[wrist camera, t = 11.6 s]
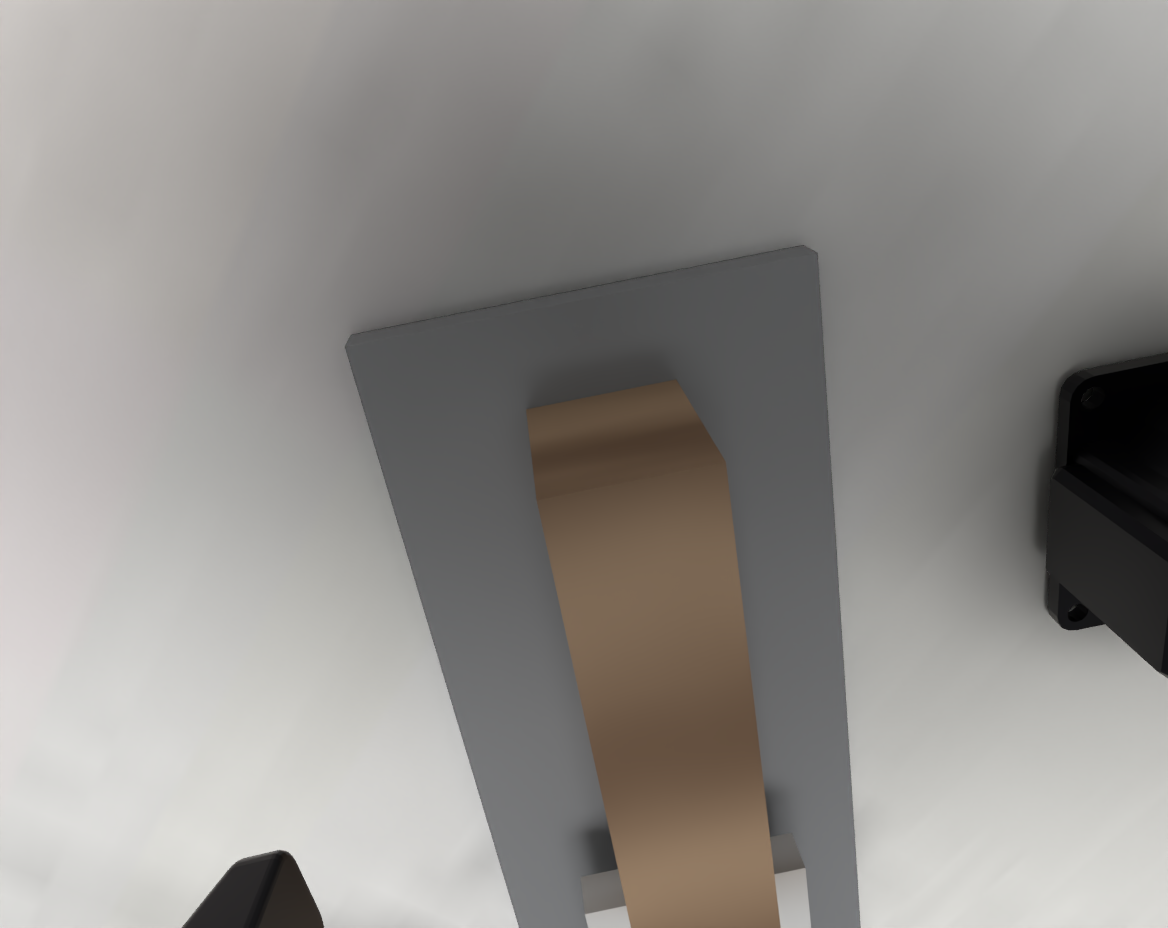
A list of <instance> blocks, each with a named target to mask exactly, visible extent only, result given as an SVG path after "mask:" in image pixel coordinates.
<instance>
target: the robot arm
mask: <svg viewBox="0 0 1168 928" xmlns="http://www.w3.org/2000/svg"><path fill="white" fill-rule="evenodd" d="M1092 387H1093V392H1092V395H1091V396H1090V397H1089V399H1088V400H1086V401H1084V402H1081V400H1082V397H1083V394H1084V393H1085V392H1086V391H1087V390H1088V389H1090V388H1092ZM1046 570H1047V571H1048V573H1049V574H1050V575H1049V594H1048V612H1049V615H1050V616H1051V617H1052V618H1053V619H1054V620H1055V621H1056V622H1057V623H1058V624H1059V625H1060V626H1061V627H1062V628H1064V629H1067V630H1079V629H1084V628H1089V627H1093V626H1098V625H1103V624H1106V625H1107V626H1108V627H1109V628H1110V629H1111V630H1112V631H1113V632H1115V633H1116V634H1117V635H1118V636H1119V637H1120V638H1121V639H1122V640H1123V641H1124V642H1126V643H1127V644H1128V645H1129V646H1130V647H1131V648H1132V649H1133V650H1134V651H1136V652H1137V653H1138V654H1139V655H1140V656H1141V657H1142V658H1143V659H1144V660H1145V661H1147V662H1148V663H1149V664H1150V665H1151V666H1152V667H1153V668H1154V669H1155V670H1156V671H1158V672H1159V673H1161V674H1162V675H1164V676H1165V677H1167V678H1168V353H1165V354H1160V355H1155V356H1150V357H1145V358H1140V359H1135V360H1130V361H1125V362H1120V363H1115V364H1110V365H1105V366H1100V367H1095V368H1090V369H1085V370H1082V371H1079V372H1077V373H1074V374H1073V375H1072V376H1070V377H1069V378H1068V379H1067V380H1066V381H1065V383H1064V384H1063V386H1062V387H1061V391H1060V395H1059V408H1058V427H1057V445H1056V464H1055V471H1054V473H1053V475H1052V477H1051V480H1050V496H1049V515H1048V535H1047V554H1046ZM1074 605H1077V606H1076V607H1075V608H1074V609H1073V610H1072V611H1069V610H1070V609H1071V608H1072V607H1073V606H1074ZM1068 611H1069V612H1068ZM182 928H324V925H323V921H322V917H321V914H320V912H319V910H318V907H317V905H316V903H315V901H314V899H313V897H312V895H311V893H310V890H309V888H308V886H307V884H306V882H305V880H304V878H303V876H302V873H301V871H300V869H299V867H298V865H297V863H296V861H295V859H294V858H293V856H292V855H291V854H290V853H289V852H287V851H283V850H277V851H273V852H269V853H264V854H260V855H256V856H252V857H247V858H244V859H241V860H239V861H237V862H236V863H235V864H234V865H232V866H231V868H230V869H229V870H228V871H227V872H226V873H225V875H224V876H223V877H222V878H221V880H220V881H219V882H218V883H217V884H216V886H215V887H214V888H213V889H212V891H211V892H210V893H209V894H208V896H207V897H206V898H205V899H204V901H203V902H202V903H201V904H200V906H199V907H198V908H197V909H196V911H195V912H194V913H193V914H192V916H191V917H190V918H189V919H188V921H187V922H186V923H185V924H184V925H183V927H182Z"/></svg>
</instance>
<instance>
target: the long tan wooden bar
mask: <svg viewBox="0 0 1168 928" xmlns="http://www.w3.org/2000/svg"><path fill="white" fill-rule="evenodd" d="M526 414H527V422H528V431H529V440H530V448H531V457H532V465H533V474H534V483H535V491H536V500H537V505H538V509H539V514H540V518H541V523H542V527H543V532H544V536H545V541H546V545H547V550H548V554H549V559H550V563H551V568H552V573H553V577H554V582H555V586H556V591H557V595H558V600H559V604H560V609H561V613H562V618H563V622H564V627H565V631H566V636H567V640H568V645H569V649H570V654H571V658H572V663H573V668H574V672H575V677H576V681H577V686H578V690H579V695H580V699H581V704H582V708H583V713H584V717H585V722H586V726H587V731H588V735H589V740H590V744H591V749H592V753H593V758H594V763H595V767H596V772H597V776H598V781H599V785H600V790H601V794H602V799H603V803H604V808H605V812H606V817H607V821H608V826H609V830H610V835H611V839H612V844H613V848H614V853H615V858H616V862H617V867H618V869H616V870H612V871H607V872H602V873H597V874H593V875H588V876H583V877H581V885H582V894H583V903H584V911H585V917H586V921H587V925H588V928H811V921H810V910H809V900H808V889H807V879H806V869H805V866H804V863H803V860H802V858H801V855H800V853H799V850H798V848H797V845H796V843H795V840H794V838H793V835H792V833H788V834H783V835H778V836H773V837H770V833H769V824H768V816H767V807H766V799H765V790H764V782H763V773H762V765H761V756H760V748H759V739H758V731H757V722H756V714H755V705H754V697H753V688H752V680H751V671H750V663H749V654H748V645H747V637H746V628H745V620H744V611H743V603H742V594H741V586H740V577H739V569H738V560H737V552H736V543H735V535H734V526H733V518H732V509H731V501H730V492H729V484H728V475H727V467H726V461H725V460H724V458H723V456H722V455H721V453H720V451H719V450H718V448H717V446H716V445H715V443H714V441H713V440H712V438H711V436H710V435H709V433H708V431H707V430H706V428H705V426H704V425H703V423H702V421H701V420H700V418H699V416H698V415H697V413H696V411H695V410H694V408H693V406H692V405H691V403H690V401H689V400H688V398H687V396H686V395H685V393H684V391H683V390H682V388H681V386H680V385H679V383H678V382H677V380H671V381H666V382H661V383H656V384H651V385H646V386H641V387H636V388H631V389H626V390H621V391H616V392H611V393H606V394H601V395H596V396H591V397H586V398H581V399H576V400H571V401H566V402H561V403H556V404H551V405H546V406H541V407H536V408H531V409H526Z"/></svg>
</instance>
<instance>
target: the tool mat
mask: <svg viewBox="0 0 1168 928" xmlns="http://www.w3.org/2000/svg"><path fill="white" fill-rule="evenodd" d="M345 349H346V352H347V355H348V359H349V362H350V365H351V369H352V372H353V375H354V379H355V382H356V385H357V389H358V392H359V395H360V399H361V402H362V405H363V409H364V412H365V415H366V419H367V422H368V425H369V429H370V432H371V435H372V439H373V442H374V445H375V449H376V452H377V455H378V459H379V462H380V465H381V469H382V472H383V475H384V479H385V482H386V485H387V489H388V492H389V495H390V499H391V502H392V505H393V509H394V512H395V515H396V519H397V522H398V525H399V529H400V532H401V535H402V539H403V542H404V545H405V549H406V552H407V555H408V559H409V562H410V565H411V569H412V572H413V575H414V579H415V582H416V585H417V589H418V592H419V595H420V599H421V602H422V605H423V609H424V612H425V615H426V619H427V622H428V625H429V629H430V632H431V635H432V639H433V642H434V645H435V649H436V652H437V655H438V659H439V662H440V665H441V669H442V672H443V675H444V679H445V682H446V685H447V689H448V692H449V695H450V699H451V702H452V705H453V709H454V712H455V715H456V719H457V722H458V725H459V729H460V732H461V735H462V739H463V742H464V745H465V749H466V752H467V755H468V759H469V762H470V765H471V769H472V772H473V775H474V779H475V782H476V785H477V789H478V792H479V795H480V799H481V802H482V805H483V809H484V812H485V815H486V819H487V822H488V825H489V829H490V832H491V835H492V839H493V842H494V845H495V849H496V852H497V855H498V859H499V862H500V865H501V869H502V872H503V875H504V879H505V882H506V885H507V889H508V892H509V895H510V899H511V902H512V905H513V909H514V912H515V915H516V919H517V922H518V925H519V928H588V925H587V921H586V917H585V911H584V903H583V894H582V885H581V877H583V876H588V875H593V874H597V873H602V872H607V871H612V870H616V869H618V867H617V862H616V858H615V853H614V848H613V844H612V839H611V835H610V830H609V826H608V821H607V817H606V812H605V808H604V803H603V799H602V794H601V790H600V785H599V781H598V776H597V772H596V767H595V763H594V758H593V753H592V749H591V744H590V740H589V735H588V731H587V726H586V722H585V717H584V713H583V708H582V704H581V699H580V695H579V690H578V686H577V681H576V677H575V672H574V668H573V663H572V658H571V654H570V649H569V645H568V640H567V636H566V631H565V627H564V622H563V618H562V613H561V609H560V604H559V600H558V595H557V591H556V586H555V582H554V577H553V573H552V568H551V563H550V559H549V554H548V550H547V545H546V541H545V536H544V532H543V527H542V523H541V518H540V514H539V509H538V505H537V500H536V491H535V483H534V474H533V465H532V457H531V448H530V440H529V431H528V422H527V414H526V409H531V408H536V407H541V406H546V405H551V404H556V403H561V402H566V401H571V400H576V399H581V398H586V397H591V396H596V395H601V394H606V393H611V392H616V391H621V390H626V389H631V388H636V387H641V386H646V385H651V384H656V383H661V382H666V381H671V380H677V382H678V383H679V385H680V386H681V388H682V390H683V391H684V393H685V395H686V396H687V398H688V400H689V401H690V403H691V405H692V406H693V408H694V410H695V411H696V413H697V415H698V416H699V418H700V420H701V421H702V423H703V425H704V426H705V428H706V430H707V431H708V433H709V435H710V436H711V438H712V440H713V441H714V443H715V445H716V446H717V448H718V450H719V451H720V453H721V455H722V456H723V458H724V460H725V461H726V467H727V475H728V484H729V492H730V501H731V509H732V518H733V526H734V535H735V543H736V552H737V560H738V569H739V577H740V586H741V594H742V603H743V611H744V620H745V628H746V637H747V645H748V654H749V663H750V671H751V680H752V688H753V697H754V705H755V714H756V722H757V731H758V739H759V748H760V756H761V765H762V773H763V782H764V790H765V799H766V807H767V816H768V824H769V833H770V837H773V836H778V835H783V834H788V833H792V835H793V838H794V840H795V843H796V845H797V848H798V850H799V853H800V855H801V858H802V860H803V863H804V866H805V869H806V879H807V889H808V900H809V910H810V921H811V928H861V927H860V911H859V896H858V880H857V864H856V849H855V833H854V817H853V802H852V786H851V770H850V755H849V739H848V723H847V707H846V692H845V676H844V660H843V645H842V629H841V613H840V598H839V582H838V566H837V551H836V535H835V519H834V504H833V488H832V472H831V457H830V441H829V425H828V410H827V394H826V378H825V363H824V347H823V331H822V316H821V300H820V284H819V269H818V253H817V252H815V251H813V250H811V249H810V248H808V247H806V246H804V245H802V246H797V247H792V248H787V249H782V250H777V251H772V252H767V253H762V254H757V255H751V256H746V257H741V258H736V259H731V260H726V261H721V262H716V263H711V264H706V265H701V266H696V267H691V268H686V269H681V270H676V271H671V272H666V273H661V274H656V275H651V276H646V277H641V278H636V279H630V280H625V281H620V282H615V283H610V284H605V285H600V286H595V287H590V288H585V289H580V290H575V291H570V292H565V293H560V294H555V295H550V296H545V297H540V298H535V299H530V300H525V301H520V302H515V303H510V304H504V305H499V306H494V307H489V308H484V309H479V310H474V311H469V312H464V313H459V314H454V315H449V316H444V317H439V318H434V319H429V320H424V321H419V322H414V323H409V324H404V325H399V326H394V327H389V328H384V329H378V330H373V331H368V332H363V333H358V334H353V335H351V336H350V338H349V340H348V342H347V344H346V346H345Z"/></svg>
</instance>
